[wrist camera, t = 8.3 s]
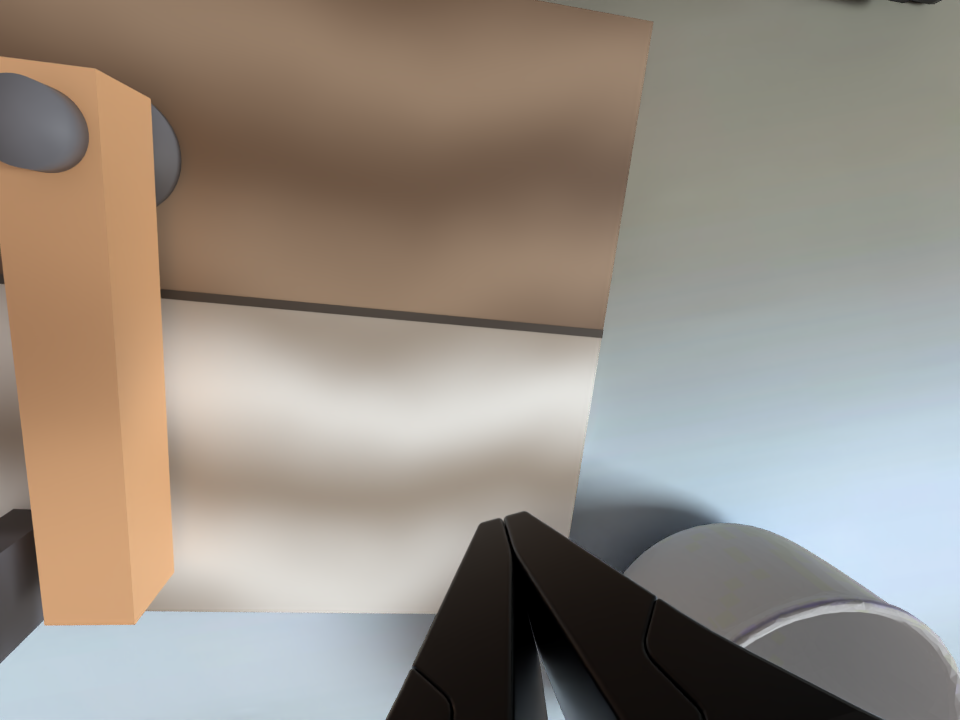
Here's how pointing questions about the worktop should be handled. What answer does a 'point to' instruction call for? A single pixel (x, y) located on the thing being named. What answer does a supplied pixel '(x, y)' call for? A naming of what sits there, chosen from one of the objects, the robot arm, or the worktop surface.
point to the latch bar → (86, 336)
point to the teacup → (804, 618)
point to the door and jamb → (355, 281)
